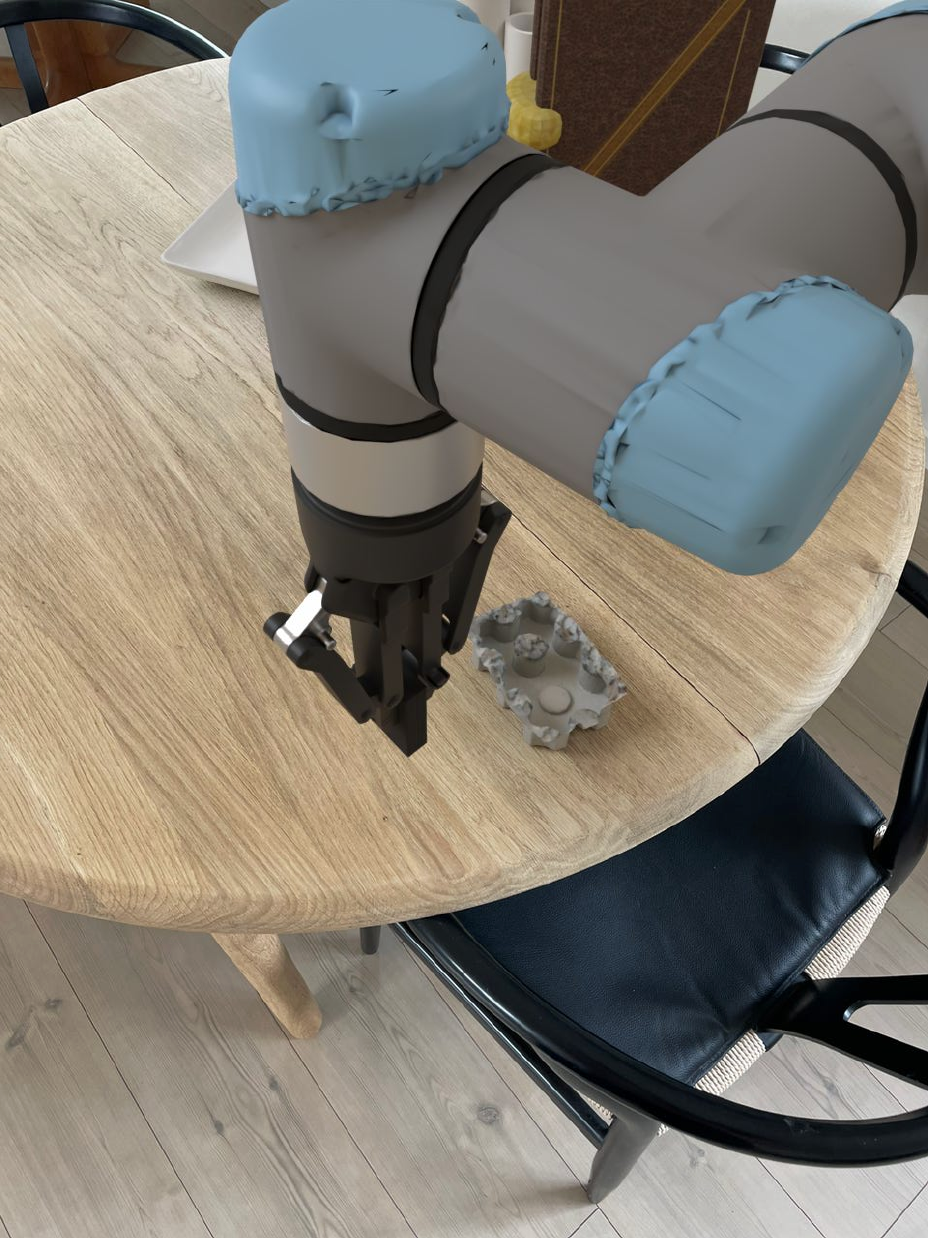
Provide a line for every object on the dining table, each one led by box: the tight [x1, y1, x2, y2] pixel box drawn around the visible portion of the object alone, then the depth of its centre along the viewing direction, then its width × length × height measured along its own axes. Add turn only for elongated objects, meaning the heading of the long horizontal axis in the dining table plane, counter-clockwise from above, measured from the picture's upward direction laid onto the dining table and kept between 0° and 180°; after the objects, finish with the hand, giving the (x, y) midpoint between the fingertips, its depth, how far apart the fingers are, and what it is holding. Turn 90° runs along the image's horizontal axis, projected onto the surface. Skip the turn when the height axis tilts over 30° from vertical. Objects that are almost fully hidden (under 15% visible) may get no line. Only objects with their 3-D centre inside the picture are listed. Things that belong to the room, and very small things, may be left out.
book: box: [506, 0, 777, 196], centre depth 88 cm, size 22×8×25 cm, turn 94°
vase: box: [457, 0, 535, 135], centre depth 98 cm, size 11×7×20 cm, turn 78°
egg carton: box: [468, 590, 628, 751], centre depth 66 cm, size 11×8×4 cm
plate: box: [160, 176, 259, 296], centre depth 93 cm, size 21×21×3 cm
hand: (402, 734), depth 57 cm, fingers closed
